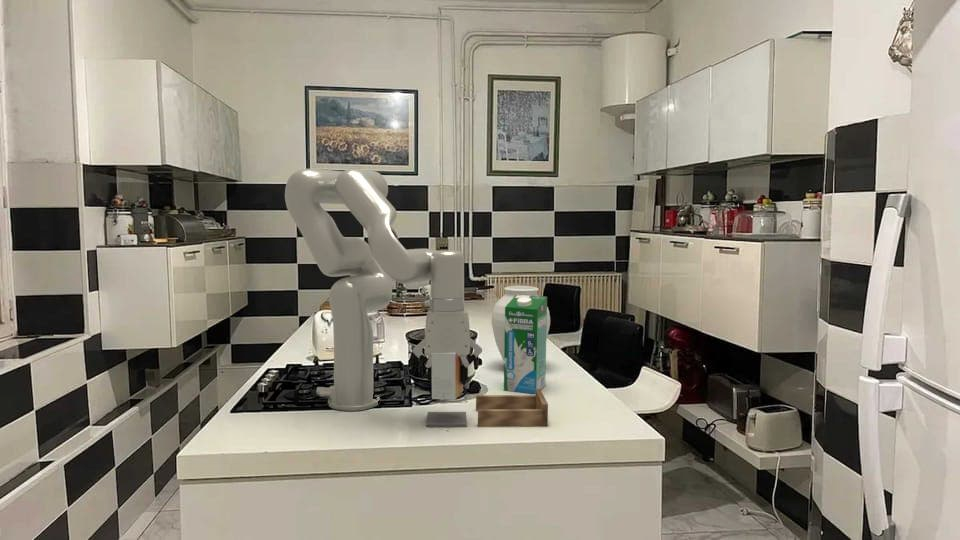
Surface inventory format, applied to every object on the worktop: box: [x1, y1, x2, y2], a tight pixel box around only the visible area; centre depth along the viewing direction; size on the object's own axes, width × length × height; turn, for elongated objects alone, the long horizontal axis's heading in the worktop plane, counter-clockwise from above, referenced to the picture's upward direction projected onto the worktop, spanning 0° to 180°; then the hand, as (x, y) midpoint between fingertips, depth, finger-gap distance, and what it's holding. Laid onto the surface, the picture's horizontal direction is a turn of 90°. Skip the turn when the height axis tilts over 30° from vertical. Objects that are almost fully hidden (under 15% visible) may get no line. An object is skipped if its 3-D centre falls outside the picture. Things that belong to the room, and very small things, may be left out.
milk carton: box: [503, 295, 548, 395], centre depth 174 cm, size 9×9×25 cm
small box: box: [431, 352, 464, 401], centre depth 146 cm, size 8×6×10 cm
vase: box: [491, 285, 551, 361], centre depth 196 cm, size 18×18×25 cm
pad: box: [425, 411, 468, 428], centre depth 147 cm, size 9×9×1 cm
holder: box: [475, 389, 549, 427], centre depth 150 cm, size 16×12×5 cm
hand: (447, 382), depth 146 cm, fingers closed on small box, 6 cm apart
